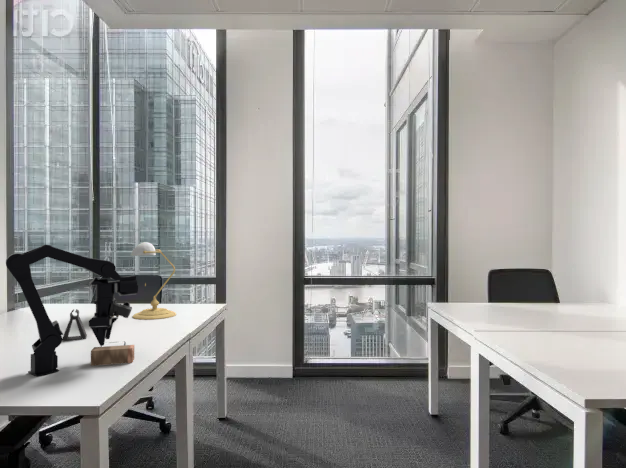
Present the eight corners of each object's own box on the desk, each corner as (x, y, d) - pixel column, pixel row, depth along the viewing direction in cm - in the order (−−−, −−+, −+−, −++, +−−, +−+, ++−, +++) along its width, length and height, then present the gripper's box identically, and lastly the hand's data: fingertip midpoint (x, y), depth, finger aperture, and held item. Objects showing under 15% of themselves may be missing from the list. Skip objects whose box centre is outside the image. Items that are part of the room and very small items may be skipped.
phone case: (124, 355, 159) (125, 344, 174) (124, 351, 159) (125, 340, 174) (97, 358, 156) (101, 346, 171) (97, 354, 156) (101, 342, 171)
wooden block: (90, 350, 145) (132, 348, 148) (94, 347, 150) (134, 344, 153) (90, 365, 145) (132, 362, 148) (94, 361, 150) (134, 358, 153)
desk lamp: (132, 312, 245) (132, 241, 246) (174, 309, 253) (174, 241, 254) (129, 322, 216) (129, 242, 217) (177, 319, 225) (177, 242, 225)
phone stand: (87, 336, 188) (87, 308, 188) (86, 339, 182) (86, 310, 182) (63, 338, 184) (63, 309, 184) (61, 341, 179) (61, 312, 179)
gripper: (125, 299, 142) (125, 347, 142) (134, 292, 160) (134, 334, 160) (88, 301, 139) (88, 349, 139) (101, 293, 157) (101, 336, 157)
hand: (104, 342), depth 149 cm, fingers open, 9 cm apart
